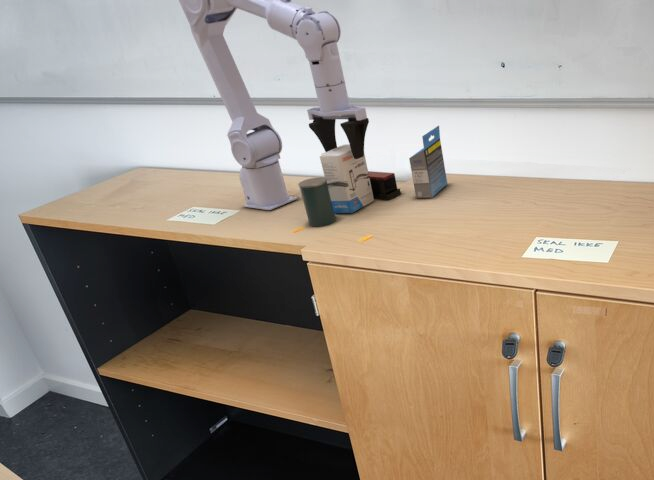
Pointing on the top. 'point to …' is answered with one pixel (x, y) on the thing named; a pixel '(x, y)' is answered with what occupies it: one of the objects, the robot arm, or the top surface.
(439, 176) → the blue grey hanging carton
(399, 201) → the top surface
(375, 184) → the black and red block
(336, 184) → the ink box
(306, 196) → the pen tin
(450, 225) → the top surface
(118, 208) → the top surface
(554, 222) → the top surface
